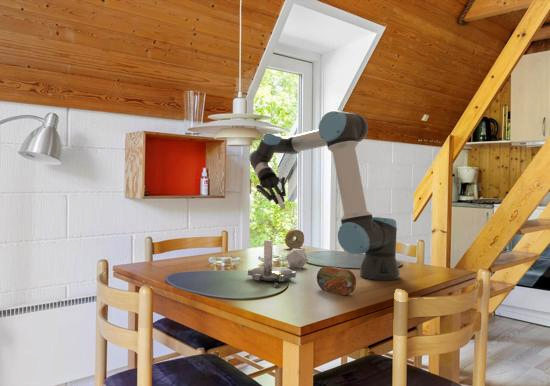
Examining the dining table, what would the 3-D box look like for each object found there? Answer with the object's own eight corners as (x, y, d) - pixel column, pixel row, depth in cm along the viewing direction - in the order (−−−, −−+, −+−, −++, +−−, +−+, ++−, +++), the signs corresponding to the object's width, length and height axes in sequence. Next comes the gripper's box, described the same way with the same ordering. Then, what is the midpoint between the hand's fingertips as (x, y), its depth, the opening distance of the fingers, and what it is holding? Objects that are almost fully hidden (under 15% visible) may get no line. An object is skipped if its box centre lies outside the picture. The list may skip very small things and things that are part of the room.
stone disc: (301, 247, 256) (301, 228, 256) (304, 248, 253) (305, 229, 252) (283, 248, 252) (284, 229, 251) (286, 249, 248) (287, 230, 248)
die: (293, 271, 197) (308, 253, 197) (279, 259, 201) (293, 241, 201) (300, 275, 204) (314, 257, 204) (286, 263, 208) (300, 245, 208)
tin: (315, 289, 167) (316, 264, 166) (321, 287, 169) (322, 263, 168) (351, 297, 156) (352, 271, 155) (357, 296, 158) (358, 270, 158)
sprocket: (268, 269, 191) (269, 234, 190) (303, 275, 181) (304, 238, 180) (239, 276, 177) (240, 238, 176) (275, 283, 167) (276, 243, 166)
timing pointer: (273, 285, 170) (273, 282, 170) (277, 285, 171) (277, 282, 171) (275, 287, 167) (275, 285, 166) (279, 287, 167) (279, 284, 167)
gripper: (281, 176, 212) (299, 208, 194) (253, 185, 211) (268, 218, 193) (278, 163, 208) (297, 194, 190) (250, 172, 206) (265, 204, 188)
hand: (282, 206), depth 191 cm, fingers closed
